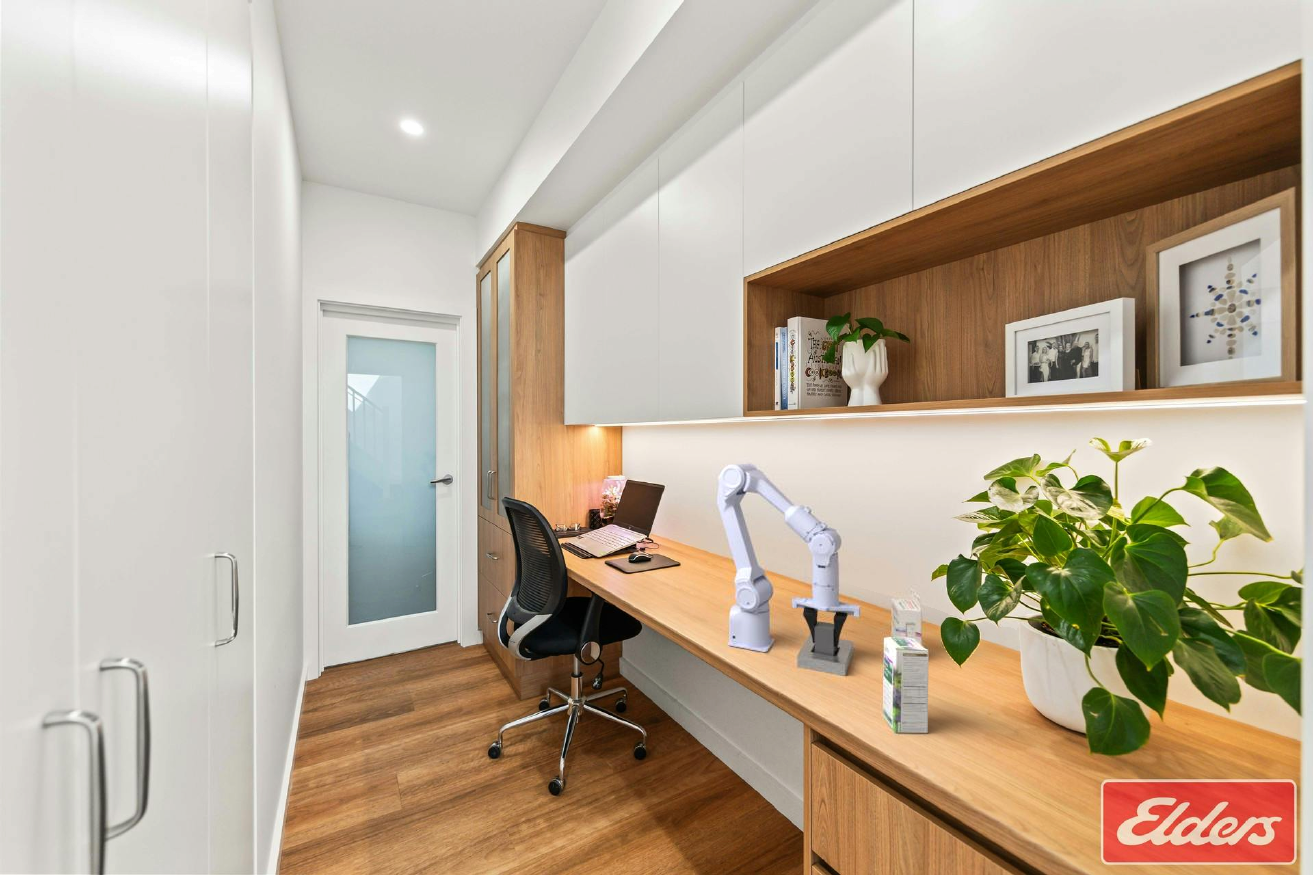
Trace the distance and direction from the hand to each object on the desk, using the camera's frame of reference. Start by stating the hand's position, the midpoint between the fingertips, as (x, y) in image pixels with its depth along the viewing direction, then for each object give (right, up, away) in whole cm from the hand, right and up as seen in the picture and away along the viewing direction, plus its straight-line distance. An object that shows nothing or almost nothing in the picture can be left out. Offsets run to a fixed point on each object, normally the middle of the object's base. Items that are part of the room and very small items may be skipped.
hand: (825, 643), depth 120 cm
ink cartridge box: (+20, -4, +3) cm, 20 cm away
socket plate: (0, -4, +1) cm, 4 cm away
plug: (0, -2, 0) cm, 2 cm away
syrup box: (+6, -4, -26) cm, 27 cm away
